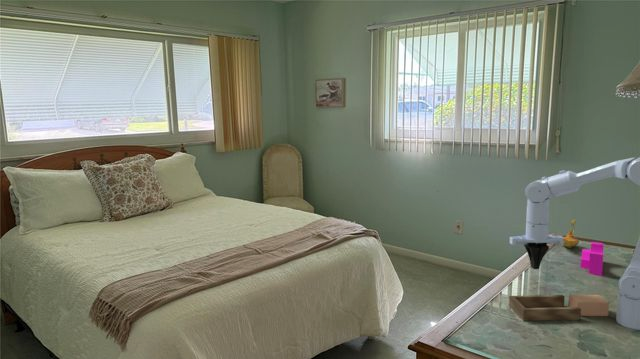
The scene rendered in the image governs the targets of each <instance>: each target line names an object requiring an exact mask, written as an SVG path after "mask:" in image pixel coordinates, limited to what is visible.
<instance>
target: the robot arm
mask: <svg viewBox="0 0 640 359" xmlns="http://www.w3.org/2000/svg"><path fill="white" fill-rule="evenodd" d="M609 178H618V179H622V180H626V179H628V178H629V180H631V182H633V183H635V184H636V185H638V186H639V187H640V156H638V157H637V158H636V159H635V157H629V158H625V159H619V160H615V161H612V162H609V163H605V164H603V165H599V166H596V167H593V168H591V169H588V170H584V171H580V172H579V173H577V172H574V171H572V170H567V171H566V170H565V169H563V170H560V171H559V172H558V174H554V175H552V176H542V177H541V179H538V180H534V181H531V183H530V182H529V184H528V185H526V187H525V189H524V195H525V197H526V199H527V201H526V217H525V218H526V219H525V221H526V222H525V234H522V235H516V236H509V244H510V245H511V246H516V245H523V246H524V248H525V250H526V253H527V256H528V258H529V263H530V268H532V269H533V270H539V269H540V266H541V263H542V261H543V259H544V257H545V255H546V254H547V252H549V248H550V246H549V245H548V244H551V245H552V244H557V245H558V244H559V245H563V237H564V236H561V235H551V234H550V235H549V219H550V218H549V216H550V198H556V197H560V196H563V195H568V194H570V193H576V192H578V191H579V190H580V188H581V186H582V185H585V184H589V183H593V182H598V181H600V180H604V179H609ZM618 287H619V289H618V291H617V292H618V293H617V302H616V304H617V305H616V318H615V321H616V323H618V324H619V325H620V326H623V327H625V328H627V329H631V330H636V331H637V330H638V331H640V235H639V236H638V239H637V242H636V245H635V249H634V251H633V254H632V258H631V261H630V263H629V265H628V266H627V267H626V268H625V270H624V273H623V274H622V276H621V277H620V278H619V280H618Z"/></svg>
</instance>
